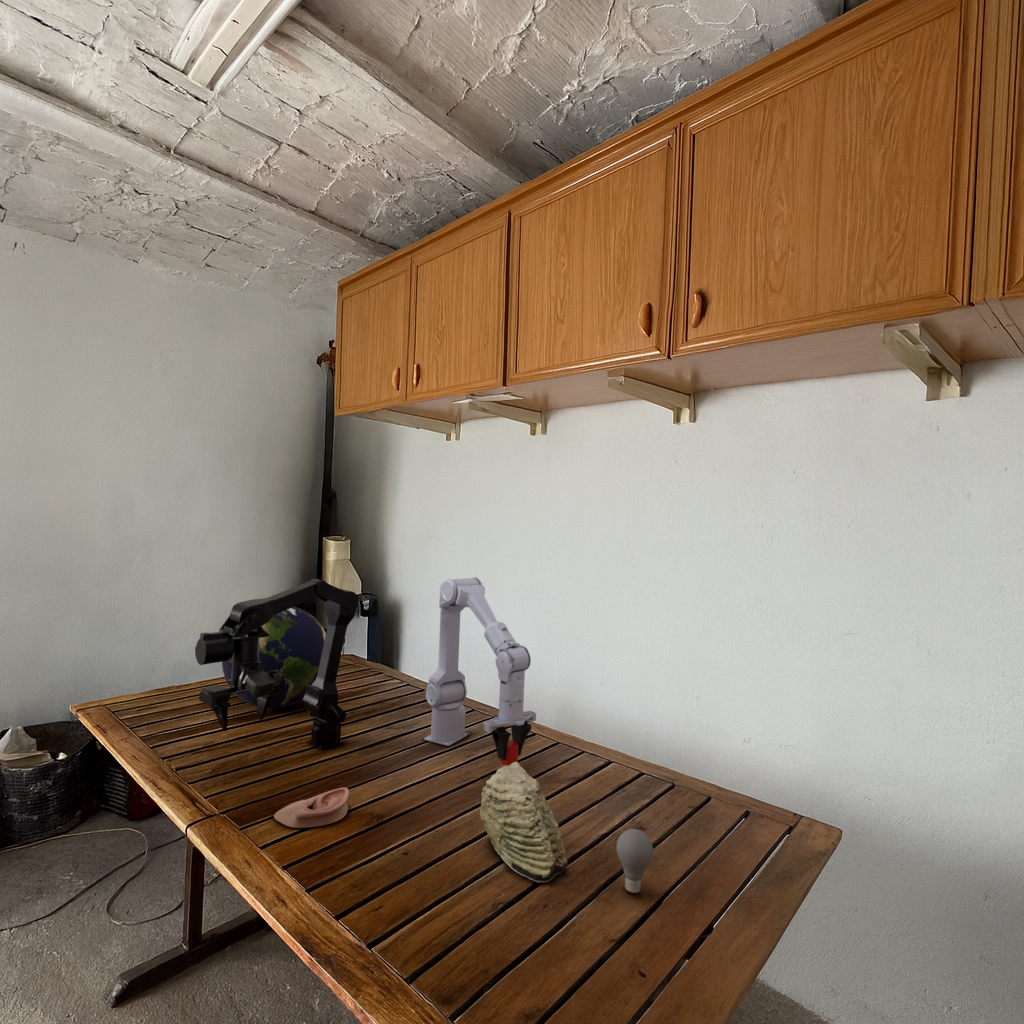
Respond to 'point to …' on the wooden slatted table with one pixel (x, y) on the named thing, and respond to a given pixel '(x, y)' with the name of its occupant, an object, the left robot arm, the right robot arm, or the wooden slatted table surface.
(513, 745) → the red cylinder
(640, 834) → the light bulb
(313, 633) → the globe
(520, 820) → the fossil
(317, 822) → the anatomical model
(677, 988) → the wooden slatted table surface
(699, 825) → the wooden slatted table surface
